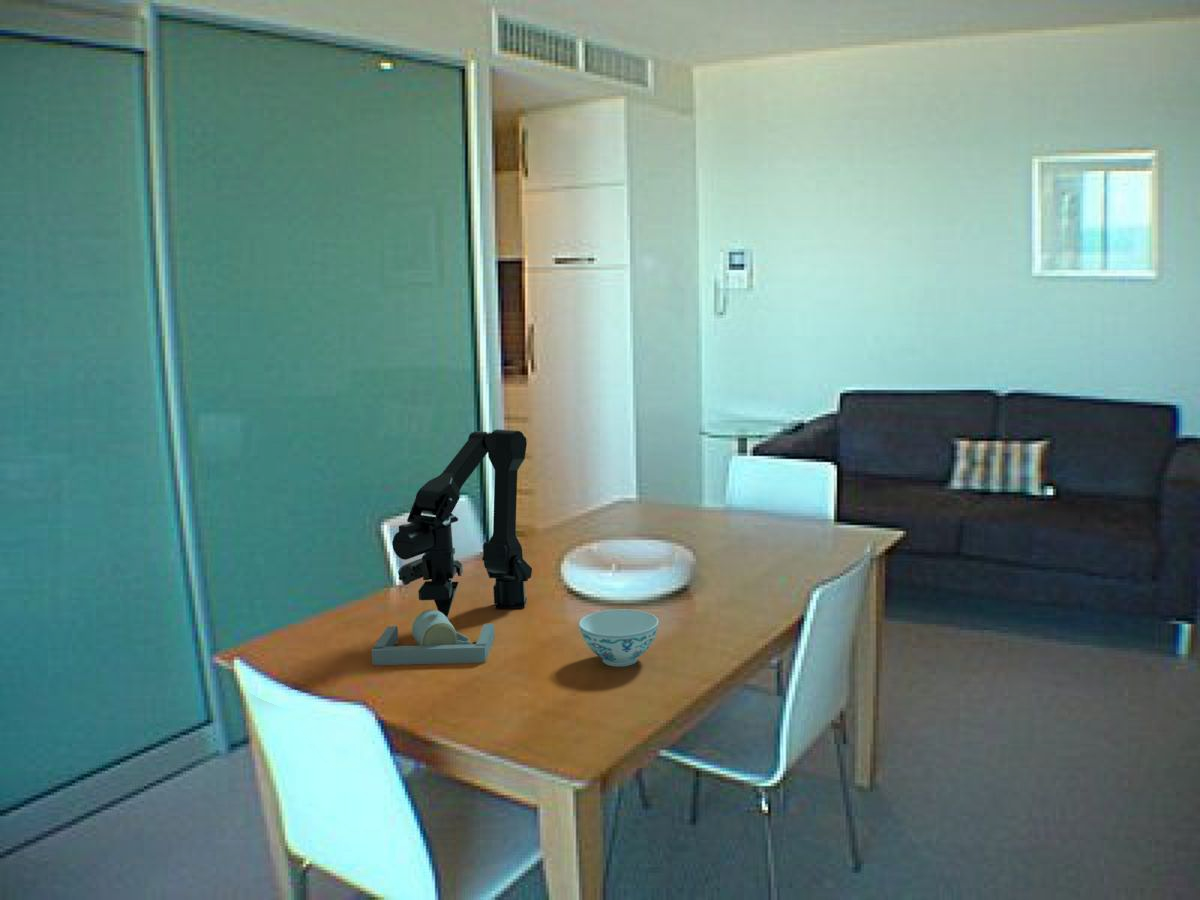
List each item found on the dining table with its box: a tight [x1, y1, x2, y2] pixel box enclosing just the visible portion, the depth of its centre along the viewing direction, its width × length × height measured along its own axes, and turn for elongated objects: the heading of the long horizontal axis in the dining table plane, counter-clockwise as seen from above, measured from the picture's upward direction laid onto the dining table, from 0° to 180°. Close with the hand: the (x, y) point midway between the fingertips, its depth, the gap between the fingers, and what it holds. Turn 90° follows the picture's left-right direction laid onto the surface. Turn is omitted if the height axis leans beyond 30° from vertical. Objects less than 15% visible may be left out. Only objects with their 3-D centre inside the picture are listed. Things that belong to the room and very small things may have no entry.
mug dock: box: [371, 623, 496, 666], centre depth 216 cm, size 22×14×3 cm, turn 88°
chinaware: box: [578, 608, 659, 667], centre depth 207 cm, size 15×15×8 cm
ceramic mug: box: [411, 609, 471, 646], centre depth 216 cm, size 11×8×8 cm
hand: (444, 619), depth 225 cm, fingers closed
